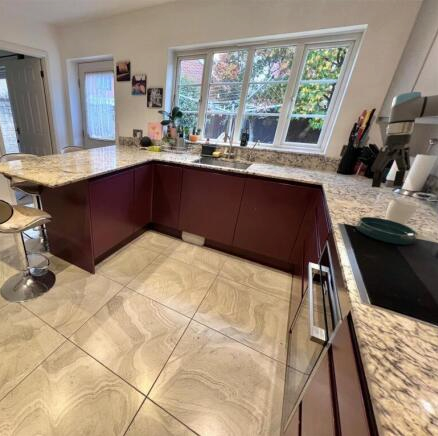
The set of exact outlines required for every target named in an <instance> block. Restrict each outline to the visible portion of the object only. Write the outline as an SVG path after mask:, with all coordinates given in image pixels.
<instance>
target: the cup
mask: <svg viewBox="0 0 438 436" xmlns="http://www.w3.org/2000/svg"><path fill="white" fill-rule="evenodd" d="M419 205H420V204H419V203H417V202H416V201H412V200H409V199H403V198H392V199H391V201H390V203H389V204H388V207H387V208H386V209H387V210H386V213H385V216H384V219H386V220H390V221H394V222H397V223H400V224H403V225H406V224H407V223H408V222H409V220H411V218H412V217H413V216H414V215H415V213H417V210H418V208H419Z"/></svg>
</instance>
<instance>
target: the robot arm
mask: <svg viewBox="0 0 438 436" xmlns="http://www.w3.org/2000/svg"><path fill="white" fill-rule="evenodd" d="M432 117H433V118H435V117H438V94H435V95H428V96H427V95H426V96H422V92H421V91H410V92H404V93H400V94H397V95H395V96H394V98H393V100H392V103H391V107H390V111H389V116H388V122H387V126H386V132H385V135H386V136H385V137H384V140H383V145H384V146H381V147H380V148H379V151H378V154H377V156H376V158H375V159H374V161H373V163H372V165H371V167H370V170H371V172H373V177H372V181H371V186H370V187H371V188H381V186H382V181H383V175H384V171H383V170H384V169H385V168H386V166H387V165H388V164H389V163H390V162H391V161H392V160H394V162H395V165H396V167H397V170H396V171H395V176H394V180H393V183H392V186H393V187H403V183H404V181H405V176H406V172H409V171H410V170H411V155H410V150H411V147H410V146H406V145H409V144H410V143H411V140H412V134H413V131H414V128H415V127H414V126H415V122H416V119H420V118H432Z"/></svg>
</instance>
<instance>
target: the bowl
mask: <svg viewBox="0 0 438 436" xmlns="http://www.w3.org/2000/svg"><path fill="white" fill-rule="evenodd" d="M355 229H356V230H357V231H358V232H360V233H361V234H363V235H365V236H367V237H369V238H372V239H374V240H376V241H380V242H384V243H388V244H394V245H395V244H396V245H404V246H406V245H411V244H413V243H414V241H415V239H416V238H417V237H418V232H417V231H416V230H415V229H413V228H412V227H410V226H408V225H406V224H405V225H403V224H400V223H397V222H394V221H390V220H386V219H385V218H381V217H375V216H361V217H359V219H358V221H357V223H356V225H355Z"/></svg>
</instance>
